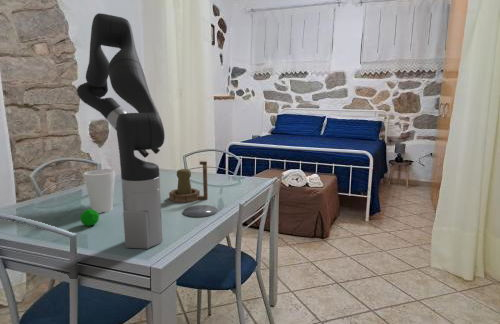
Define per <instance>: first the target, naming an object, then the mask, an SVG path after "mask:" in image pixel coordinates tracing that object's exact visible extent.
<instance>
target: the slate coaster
mask: <svg viewBox="0 0 500 324" xmlns="http://www.w3.org/2000/svg"><path fill="white" fill-rule="evenodd" d="M215 213H216V214H217V213H218V208H217V207H216V206H213V205H210V204H209V205H208V204H197V205H191V206H187V207H185V208H184V209H183V214H184V216H186V217H190V218H205V217H210V216H211V217H212V216H214V215H216V214H215Z"/></svg>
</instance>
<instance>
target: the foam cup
mask: <svg viewBox="0 0 500 324" xmlns="http://www.w3.org/2000/svg"><path fill="white" fill-rule="evenodd" d="M115 172H116V171H115V169H111V168H110V169H103V168H102V169H93V170H92V169H91V170H87V171H85V172H84V173H83V179H84V182H85V186H86V191H87V194H88V199H89V203H90V207H91V208H90V209H92V210H94V211H96V212H98V214H102V213H101V212H105V213H109V212H112V211H113V207H114V196H115V195H114V191H115V179H116V173H115Z"/></svg>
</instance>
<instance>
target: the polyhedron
mask: <svg viewBox="0 0 500 324" xmlns="http://www.w3.org/2000/svg"><path fill="white" fill-rule="evenodd" d="M79 218H80V222H81V224H82V225H84V226H86V227H92V226H91V225H93V226H94V225H95V224H97V223H98V222H99V219H100V213H98V212H96V211H94V210H92V208H89V209H86V210H84V211H83V212H82V213H80V217H79Z"/></svg>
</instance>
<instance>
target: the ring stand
mask: <svg viewBox="0 0 500 324" xmlns="http://www.w3.org/2000/svg"><path fill="white" fill-rule="evenodd" d="M207 162H208V161H207V160H206V161H204V160H202V161H199V165H202V180H203V181H202V185H203V195H200V190H199V189H196V188H192V187H191V189H192V194H187V195H177V189H173V190H171V191H170V192H168V196H169V200H170V201H172V202H173V203H191V202H195V201H198V200H208V198H209V195H208V192H209V191H208V190H209V189H208V166H207V165H208V163H207Z"/></svg>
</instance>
